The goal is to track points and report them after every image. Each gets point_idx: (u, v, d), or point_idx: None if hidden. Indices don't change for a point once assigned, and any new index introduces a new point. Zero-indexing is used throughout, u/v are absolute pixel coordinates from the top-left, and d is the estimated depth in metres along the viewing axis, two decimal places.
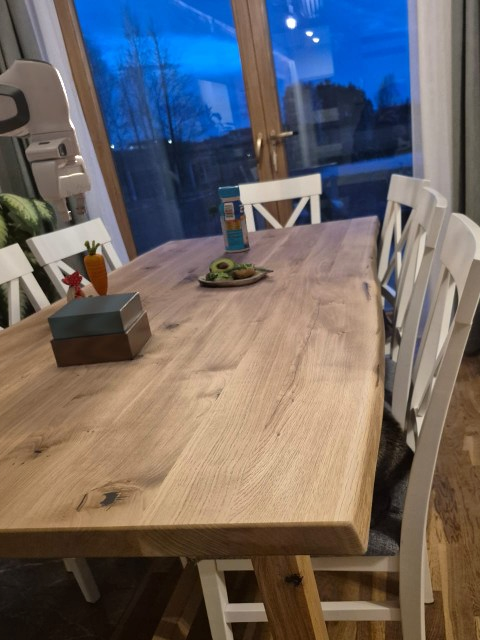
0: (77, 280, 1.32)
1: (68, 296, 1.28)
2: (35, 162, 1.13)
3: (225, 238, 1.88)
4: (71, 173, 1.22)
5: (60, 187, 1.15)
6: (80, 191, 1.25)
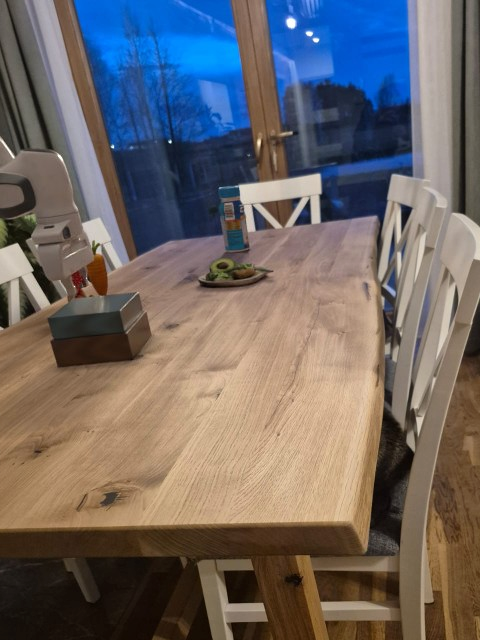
0: (78, 280, 1.32)
1: (69, 296, 1.28)
2: (40, 246, 1.19)
3: (225, 238, 1.88)
4: (75, 250, 1.28)
5: (64, 268, 1.21)
6: (83, 265, 1.31)
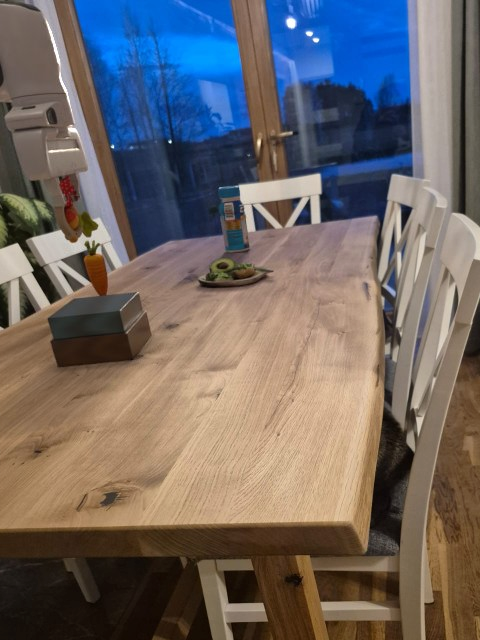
0: (68, 190, 1.03)
1: (56, 208, 0.99)
2: (17, 131, 0.89)
3: (225, 238, 1.88)
4: (63, 148, 0.98)
5: (49, 163, 0.92)
6: (74, 171, 1.02)
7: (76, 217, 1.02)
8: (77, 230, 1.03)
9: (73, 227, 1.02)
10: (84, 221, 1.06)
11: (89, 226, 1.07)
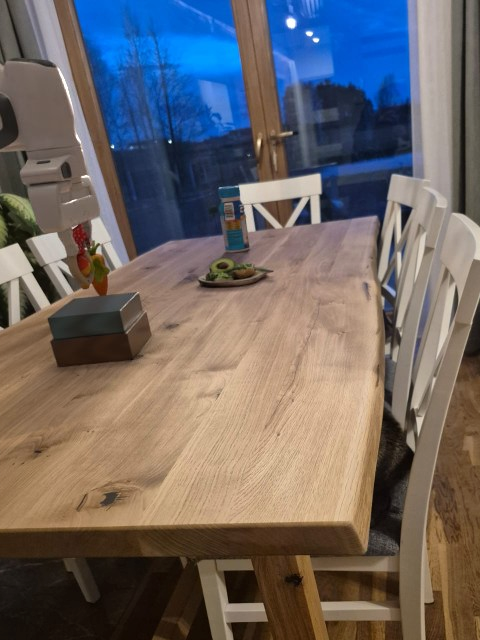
0: (80, 237, 1.03)
1: (68, 256, 1.00)
2: (32, 186, 0.90)
3: (225, 238, 1.88)
4: (76, 197, 0.99)
5: (63, 216, 0.93)
6: (87, 218, 1.03)
7: (88, 264, 1.03)
8: (89, 277, 1.04)
9: (85, 274, 1.03)
10: (96, 266, 1.07)
11: (100, 271, 1.08)
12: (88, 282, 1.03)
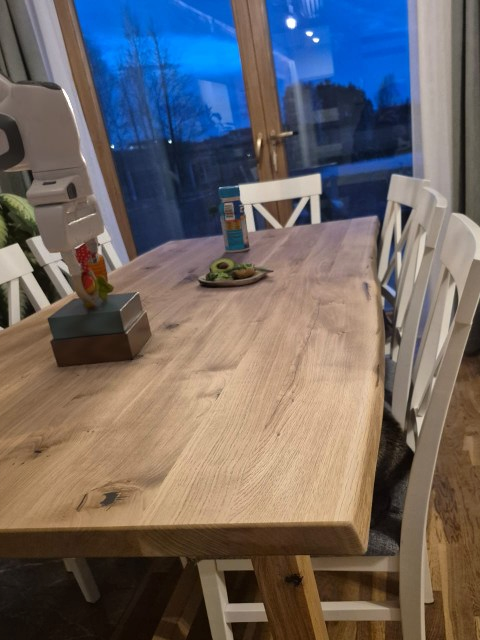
0: (84, 256, 1.05)
1: None
2: (38, 207, 0.92)
3: (225, 238, 1.88)
4: (81, 216, 1.01)
5: (69, 236, 0.94)
6: (92, 236, 1.04)
7: (93, 283, 1.04)
8: (93, 295, 1.06)
9: (90, 292, 1.04)
10: (100, 284, 1.09)
11: (104, 289, 1.09)
12: (93, 300, 1.05)
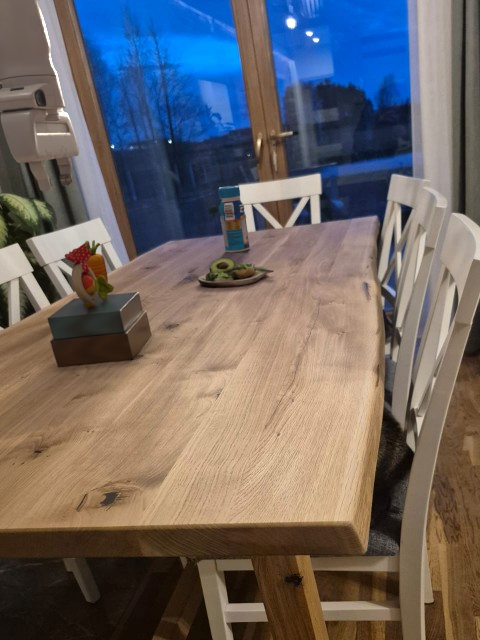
0: (84, 256, 1.05)
1: (73, 275, 1.01)
2: (5, 113, 0.89)
3: (225, 238, 1.88)
4: (53, 131, 0.97)
5: (37, 146, 0.91)
6: (64, 155, 1.01)
7: (93, 283, 1.04)
8: (93, 295, 1.06)
9: (90, 292, 1.04)
10: (100, 284, 1.09)
11: (104, 289, 1.09)
12: (93, 300, 1.05)
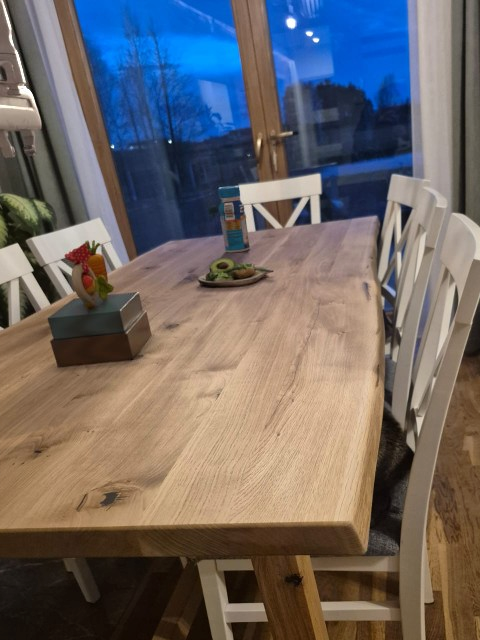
0: (84, 256, 1.05)
1: (73, 275, 1.01)
2: None
3: (225, 238, 1.88)
4: (15, 105, 1.09)
5: None
6: (27, 127, 1.13)
7: (93, 283, 1.04)
8: (93, 295, 1.06)
9: (90, 292, 1.04)
10: (100, 284, 1.09)
11: (104, 289, 1.09)
12: (93, 300, 1.05)
